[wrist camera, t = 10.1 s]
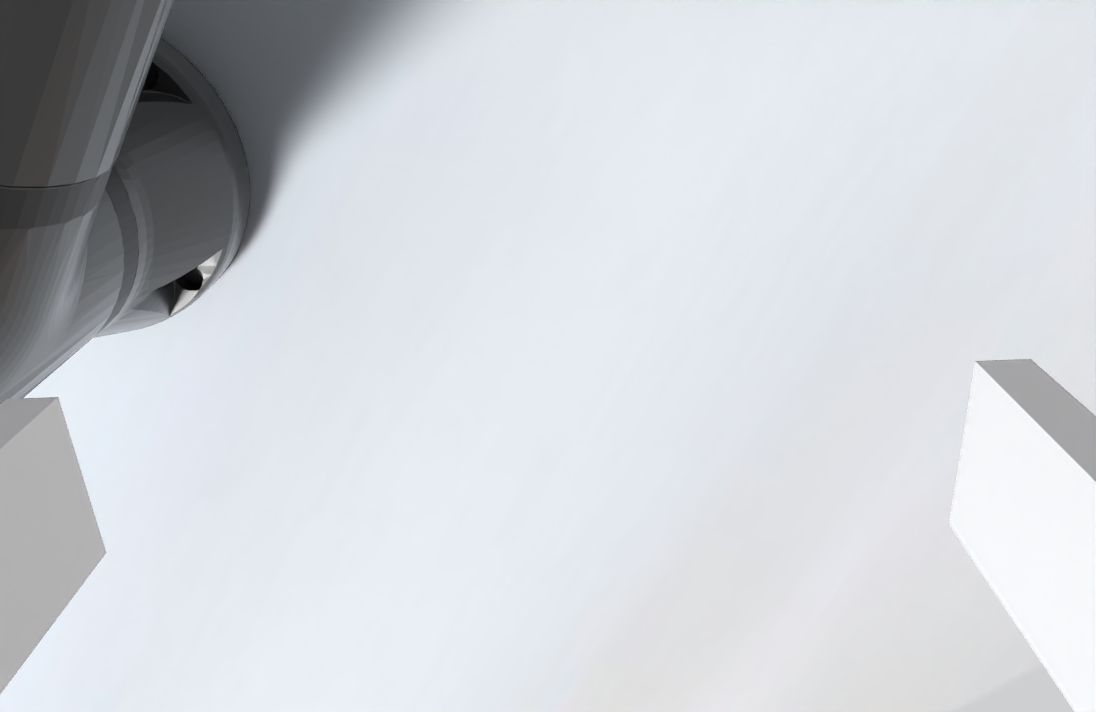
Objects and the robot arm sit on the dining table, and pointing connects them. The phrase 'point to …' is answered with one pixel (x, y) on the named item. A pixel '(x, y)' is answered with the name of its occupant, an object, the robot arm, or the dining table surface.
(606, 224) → the dining table surface
